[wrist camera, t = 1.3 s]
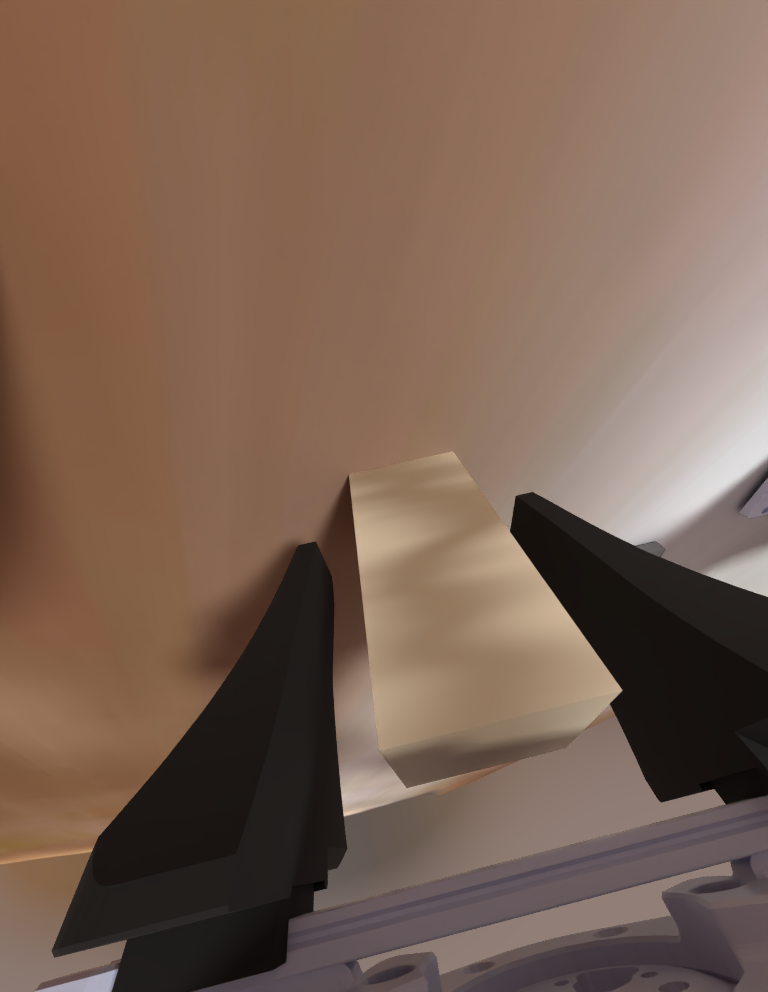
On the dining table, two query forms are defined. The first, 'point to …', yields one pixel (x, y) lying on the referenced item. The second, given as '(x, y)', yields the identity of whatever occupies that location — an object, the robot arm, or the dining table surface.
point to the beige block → (462, 629)
